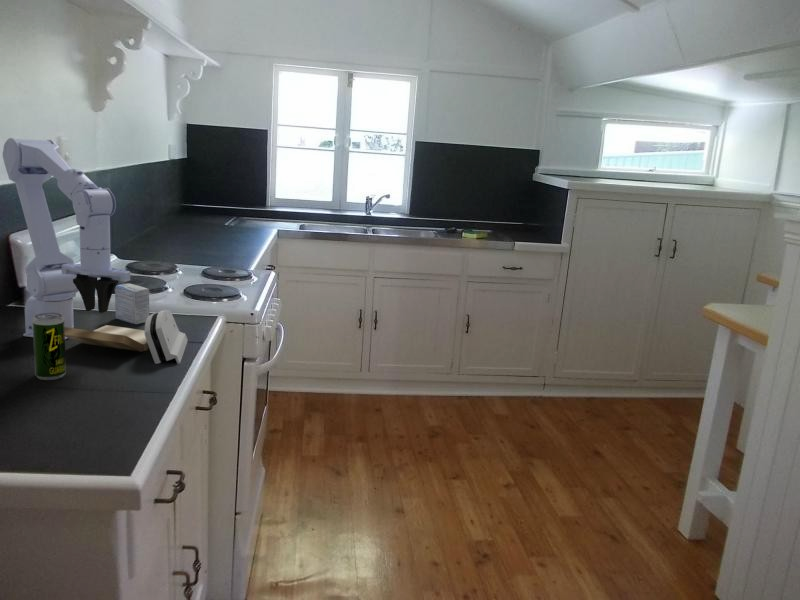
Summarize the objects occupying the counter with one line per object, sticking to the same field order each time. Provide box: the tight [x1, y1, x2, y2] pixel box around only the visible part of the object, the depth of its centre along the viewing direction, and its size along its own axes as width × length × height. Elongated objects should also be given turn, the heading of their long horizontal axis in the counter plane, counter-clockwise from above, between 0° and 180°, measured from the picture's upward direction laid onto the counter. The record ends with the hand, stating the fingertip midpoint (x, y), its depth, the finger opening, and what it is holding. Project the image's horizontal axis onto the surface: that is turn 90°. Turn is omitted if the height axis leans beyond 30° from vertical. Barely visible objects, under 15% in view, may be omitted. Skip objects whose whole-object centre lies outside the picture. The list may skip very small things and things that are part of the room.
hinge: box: [144, 309, 189, 365], centre depth 149 cm, size 17×5×10 cm, turn 11°
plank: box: [64, 327, 144, 353], centre depth 146 cm, size 15×8×2 cm, turn 80°
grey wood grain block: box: [114, 283, 151, 325], centre depth 170 cm, size 8×4×9 cm, turn 58°
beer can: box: [32, 313, 67, 381], centre depth 130 cm, size 5×5×12 cm
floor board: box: [93, 324, 150, 352], centre depth 154 cm, size 15×9×2 cm, turn 80°
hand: (96, 310), depth 143 cm, fingers open, 2 cm apart
